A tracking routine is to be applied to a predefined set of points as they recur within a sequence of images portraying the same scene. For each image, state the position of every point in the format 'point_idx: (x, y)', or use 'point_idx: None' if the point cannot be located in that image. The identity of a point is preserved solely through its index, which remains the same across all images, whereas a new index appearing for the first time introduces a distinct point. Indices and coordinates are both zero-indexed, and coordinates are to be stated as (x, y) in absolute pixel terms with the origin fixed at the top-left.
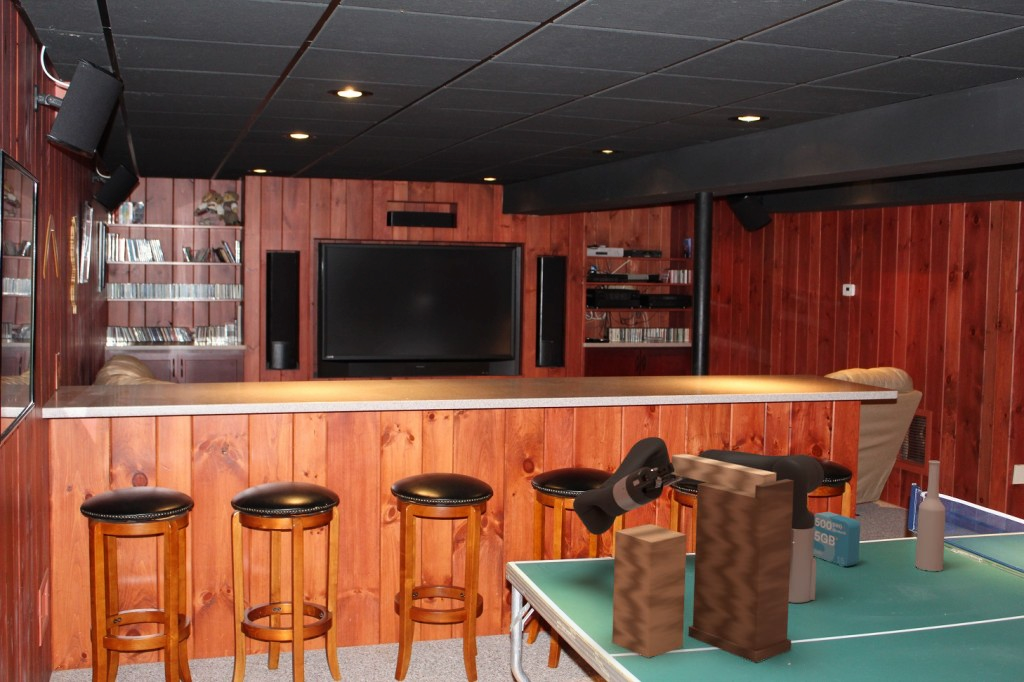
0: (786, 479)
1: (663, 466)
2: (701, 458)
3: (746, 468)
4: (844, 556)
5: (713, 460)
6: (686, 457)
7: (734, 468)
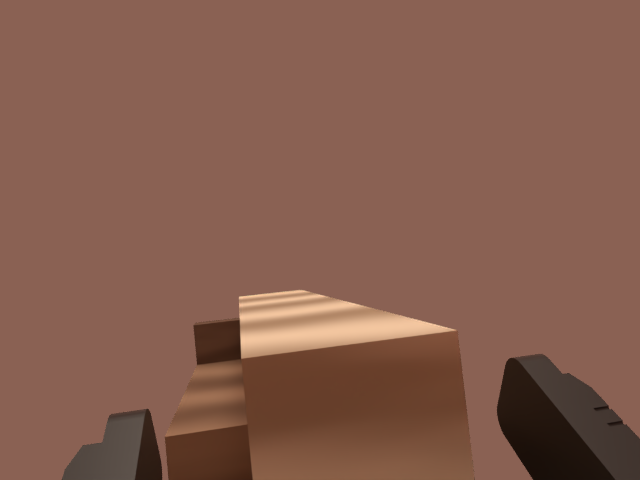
0: (200, 324)
1: (600, 398)
2: (279, 320)
3: (267, 298)
4: None
5: (258, 314)
6: (363, 320)
7: (310, 295)
